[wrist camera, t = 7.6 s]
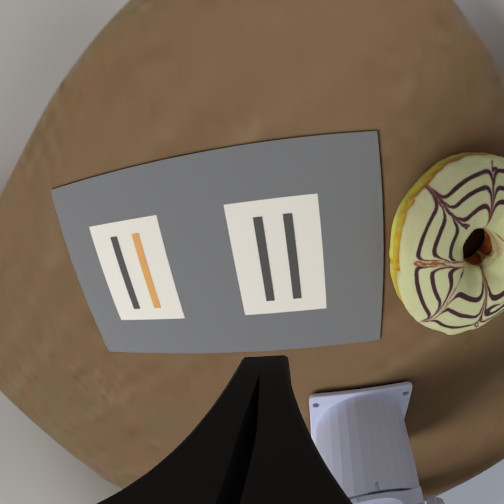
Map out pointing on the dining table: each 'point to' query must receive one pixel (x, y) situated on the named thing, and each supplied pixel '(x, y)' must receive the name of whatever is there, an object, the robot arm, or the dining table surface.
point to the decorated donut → (451, 244)
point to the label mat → (233, 247)
